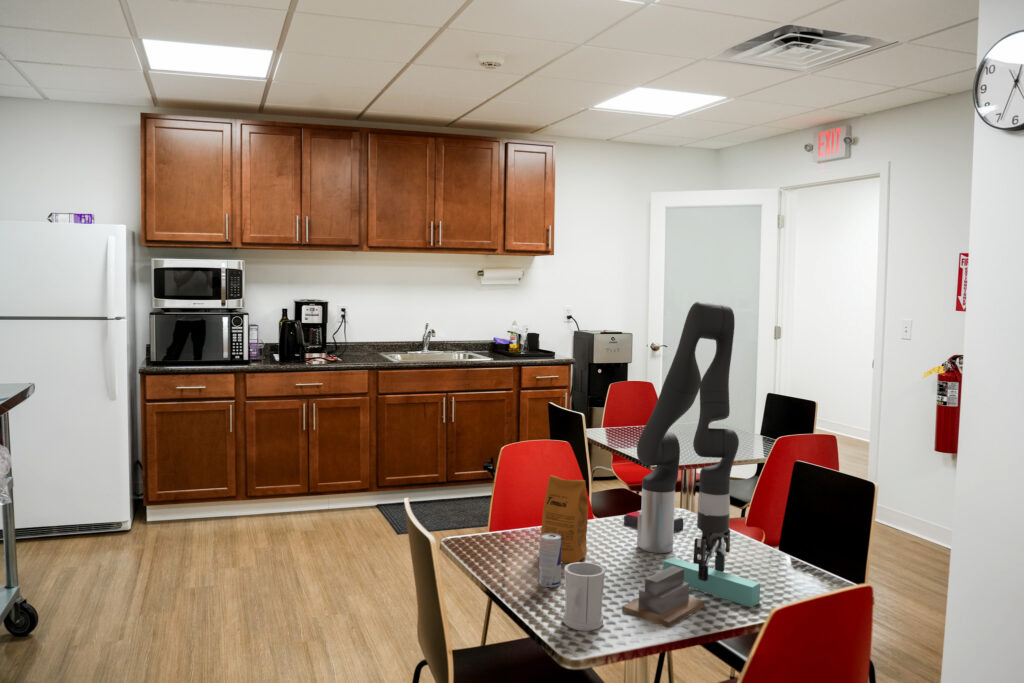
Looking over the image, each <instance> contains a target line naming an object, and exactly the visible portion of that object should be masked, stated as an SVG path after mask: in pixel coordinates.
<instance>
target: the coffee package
mask: <svg viewBox="0 0 1024 683" xmlns="http://www.w3.org/2000/svg"><path fill="white" fill-rule="evenodd" d="M586 485H587V482H586V479H585V480H584V479H563V478H560V477H558V476H555V475H553V474H551V475H550V476H549V478H548V483H547V486H546V494H545V496H544V497H545V498H544V502H543V503H544V504H543V507H542V508H543V509H542V519H541V529H540V530H541V531H540V536H541V535H542V534H546V533H554V534H558V535H560V536H561V539H562V550H561V562H563V563H562V564H570V563H575V562H581V560H582V559H583V558H585V557H587V556H586V555H587V551H588V550H587V549H588V548H587V547H588V546H587V544H588V543H587V532H588V523H589V522H588V521H589V518H588V517H589V514H588V513H589V502H588V495H587V491H586V490H587V489H586Z"/></svg>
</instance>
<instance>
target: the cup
mask: <svg viewBox="0 0 1024 683" xmlns="http://www.w3.org/2000/svg"><path fill="white" fill-rule="evenodd" d="M563 570H564V589H565V593H564V594H565V601H564V602H565V604H564V605H565V607H564V608H565V611H564V612H563V613H562V614H563V615H562V622H563V623H564V624H565V626H567V627H568V628H570V629H572V630H576V631H580V632H590V631H595V630H598V629H599V628H601V627H602V626H603V625H604V615H603V614H602V613H603V612H602V611H603V609H602V608H603V596H604V595H603V594H604V585H605V576H606V570H605V568H604V567H603V566H602V565H600V564H596V563H592V562H584V561H583V562H582V561H579V562H575V563H567V564H566V565H565V566H564V569H563Z"/></svg>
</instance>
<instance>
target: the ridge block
mask: <svg viewBox="0 0 1024 683" xmlns="http://www.w3.org/2000/svg"><path fill="white" fill-rule="evenodd" d="M705 604H706V602H705V601H704V600H701V599H698V598H696V597H692V596H690V588H689V583H687V582H684V569H683V568H679V567H676V566H671V567H669V568H667V569H665V570H663V569H662V570H661V571H660V570H659V571H658V572H657V573H654V574H652V575H650V576H648V577H645V579H644V587H642V588H640V589H638V598H636V599H633V600H632V601H630V602H627V603H626V604H624V605H622V606H621V607H622V608H621V609H622V610H621V611H622V612H623V613H626V614H629V615H632V616H634V617H638V618H641V619H643V620H646V621H648V622H649V621H650V622H653V623H654V624H655V623H656V624H658V625H660V626H664V627H667V628H670V627H672V626H673V625H675V624H677V623H678V622H681V621H682V620H684V619H686V618H687V617H689V616H691V615H693V614H695V613H696V612H698V611H699V610H701V609H703V608H704V607H705ZM692 613H693V614H692ZM690 614H691V615H690ZM680 620H681V621H680Z"/></svg>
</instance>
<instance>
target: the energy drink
mask: <svg viewBox="0 0 1024 683" xmlns="http://www.w3.org/2000/svg"><path fill="white" fill-rule="evenodd" d="M561 550H562V539H561V536H560V535H558V534H554V533H546V534H542V535H541V534H540V538H539V559H538V560H539V562H538V563H539V565H538V566H539V567H538V583H539V585H540V586H541V587H543V586H544V587H543V588H547V587H550V588H549V589H553V588H552V587H555V588H558V587H559V586H560V585H561V583H562V582H561V581H562V577H561V576H562V575H561V574H562V572H561V571H562V563H561ZM557 586H558V587H557Z"/></svg>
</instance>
